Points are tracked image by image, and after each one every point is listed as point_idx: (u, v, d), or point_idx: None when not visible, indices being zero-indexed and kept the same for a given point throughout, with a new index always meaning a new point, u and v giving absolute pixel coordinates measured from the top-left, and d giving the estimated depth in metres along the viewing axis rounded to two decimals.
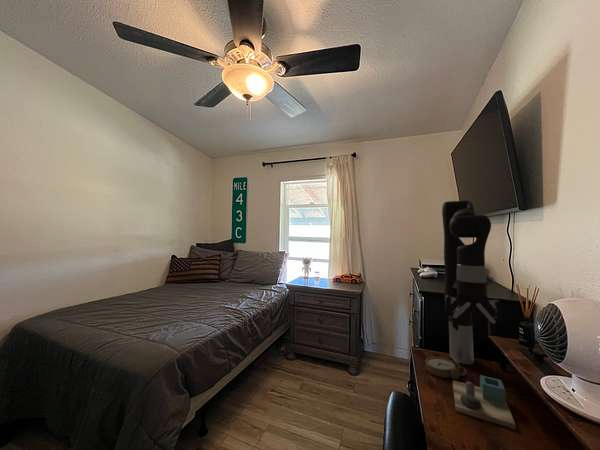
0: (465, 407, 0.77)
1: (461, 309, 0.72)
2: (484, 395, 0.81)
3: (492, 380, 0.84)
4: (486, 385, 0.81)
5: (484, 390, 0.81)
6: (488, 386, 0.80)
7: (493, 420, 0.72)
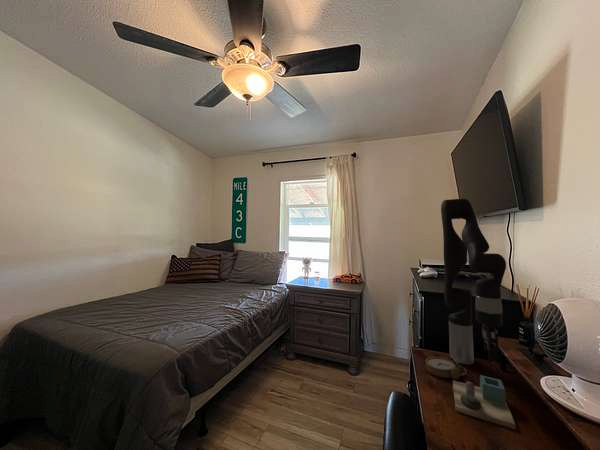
0: (465, 407, 0.77)
1: None
2: (484, 395, 0.81)
3: (492, 380, 0.84)
4: (486, 385, 0.81)
5: (484, 390, 0.81)
6: (488, 386, 0.80)
7: (493, 420, 0.72)
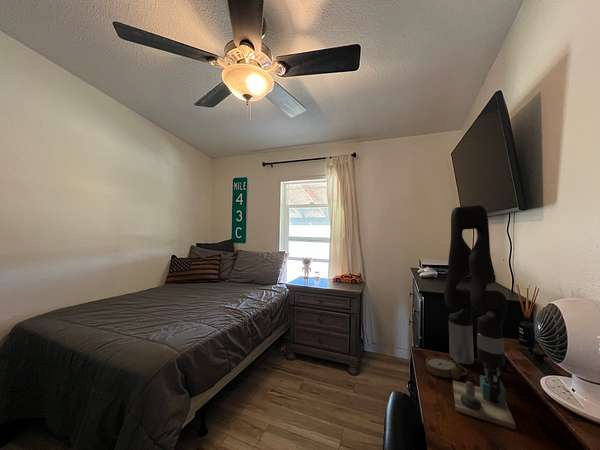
0: (465, 407, 0.77)
1: None
2: (484, 395, 0.81)
3: None
4: (486, 385, 0.81)
5: (484, 390, 0.81)
6: (488, 386, 0.80)
7: (493, 420, 0.72)
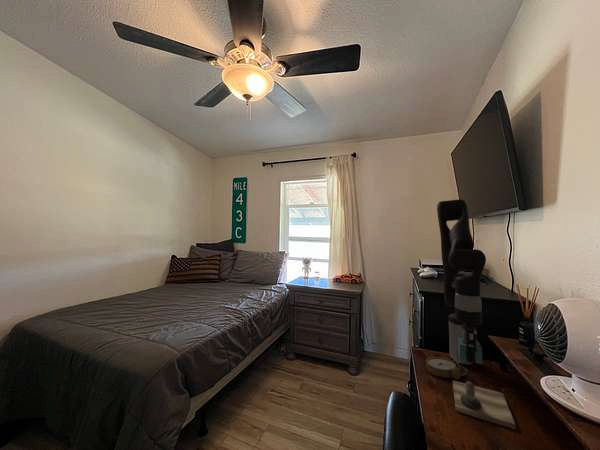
0: (465, 407, 0.77)
1: None
2: (461, 356, 0.78)
3: None
4: (463, 345, 0.78)
5: (461, 350, 0.78)
6: (465, 346, 0.77)
7: (493, 420, 0.72)
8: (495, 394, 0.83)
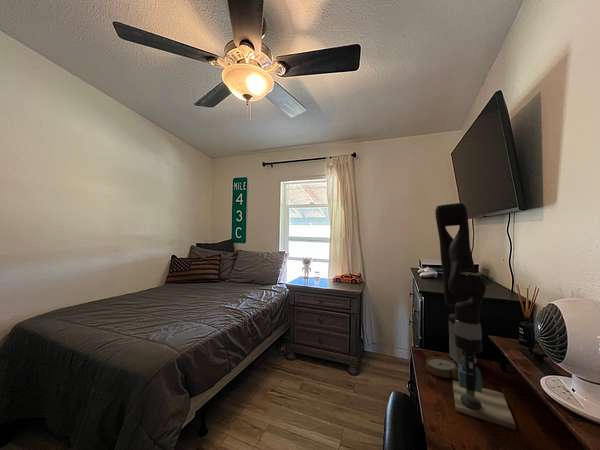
0: (465, 407, 0.77)
1: None
2: (461, 383, 0.78)
3: None
4: (463, 373, 0.78)
5: (461, 378, 0.78)
6: (465, 374, 0.77)
7: (493, 420, 0.72)
8: (495, 394, 0.83)
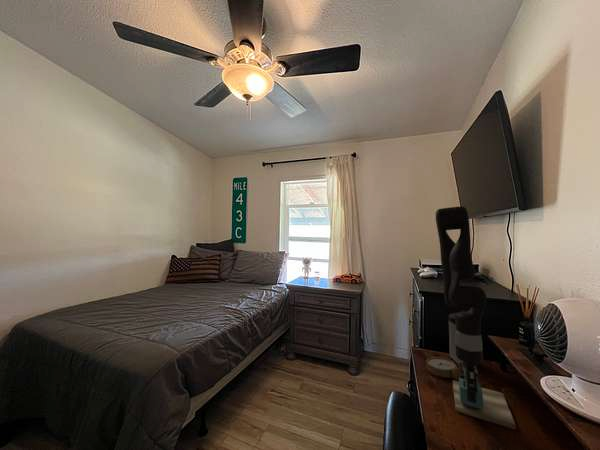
0: (465, 407, 0.77)
1: None
2: (462, 399, 0.77)
3: None
4: (464, 388, 0.77)
5: (462, 394, 0.78)
6: (466, 389, 0.77)
7: (493, 420, 0.72)
8: (495, 394, 0.83)
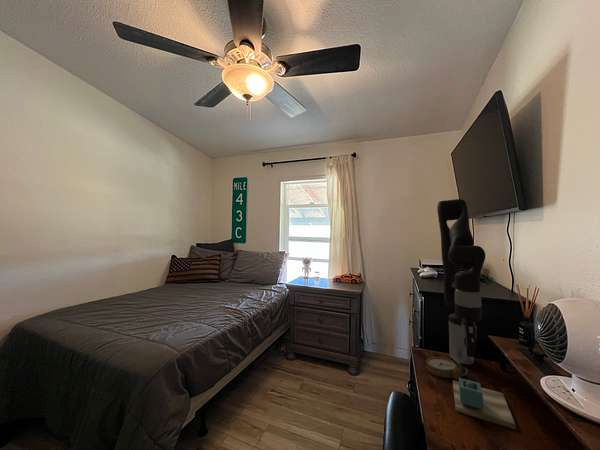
0: (465, 407, 0.77)
1: None
2: (462, 399, 0.77)
3: None
4: (464, 388, 0.77)
5: (462, 394, 0.78)
6: (466, 389, 0.77)
7: (493, 420, 0.72)
8: (495, 394, 0.83)
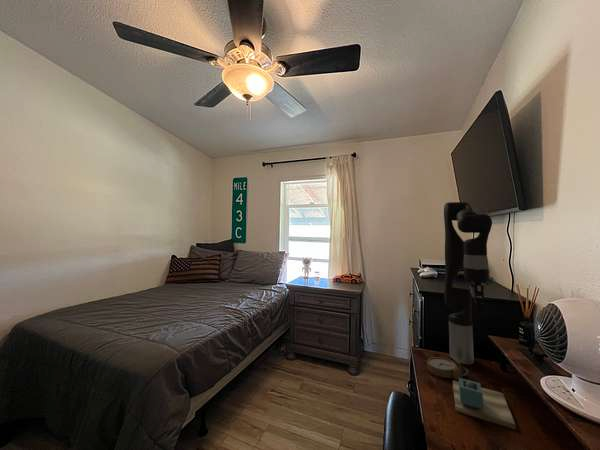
0: (465, 407, 0.77)
1: None
2: (462, 399, 0.77)
3: None
4: (464, 388, 0.77)
5: (462, 394, 0.78)
6: (466, 389, 0.77)
7: (493, 420, 0.72)
8: (495, 394, 0.83)
